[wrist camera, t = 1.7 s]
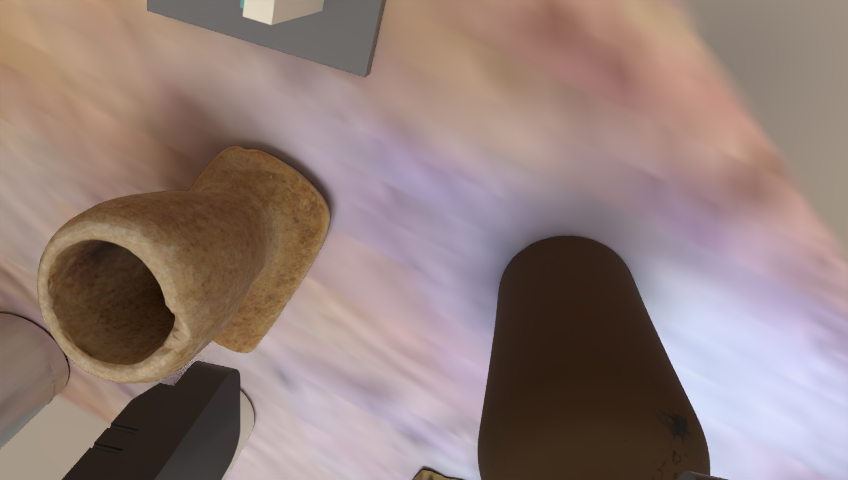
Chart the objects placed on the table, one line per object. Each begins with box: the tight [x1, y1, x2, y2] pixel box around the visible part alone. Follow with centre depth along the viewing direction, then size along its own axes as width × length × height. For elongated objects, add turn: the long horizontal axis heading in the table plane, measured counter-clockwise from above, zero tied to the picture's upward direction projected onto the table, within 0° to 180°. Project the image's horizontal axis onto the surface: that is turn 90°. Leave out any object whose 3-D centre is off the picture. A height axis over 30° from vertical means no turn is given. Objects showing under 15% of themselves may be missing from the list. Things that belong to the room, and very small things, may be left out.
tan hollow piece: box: [37, 146, 331, 383], centre depth 36 cm, size 15×12×15 cm
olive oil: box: [478, 236, 710, 480], centre depth 30 cm, size 11×11×25 cm
